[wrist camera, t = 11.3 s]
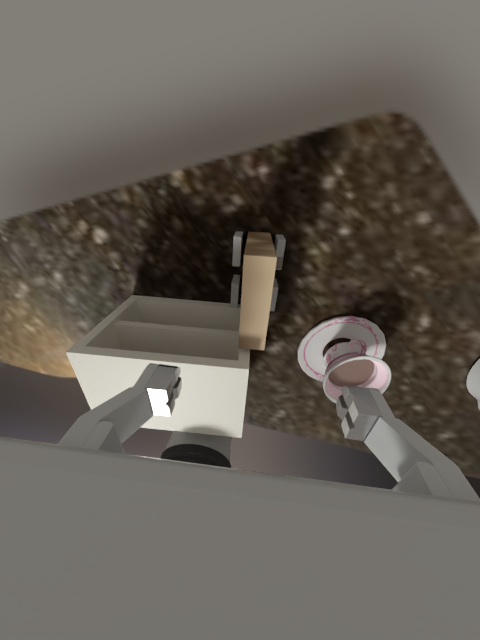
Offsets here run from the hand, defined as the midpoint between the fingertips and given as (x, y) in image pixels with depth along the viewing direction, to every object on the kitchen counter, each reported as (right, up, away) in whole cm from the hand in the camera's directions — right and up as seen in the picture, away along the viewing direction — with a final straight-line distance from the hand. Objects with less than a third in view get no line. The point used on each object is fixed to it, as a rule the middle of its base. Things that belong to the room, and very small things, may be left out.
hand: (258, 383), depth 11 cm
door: (+1, +9, +16) cm, 18 cm away
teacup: (+13, -1, +21) cm, 25 cm away
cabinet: (-6, +5, +18) cm, 20 cm away
